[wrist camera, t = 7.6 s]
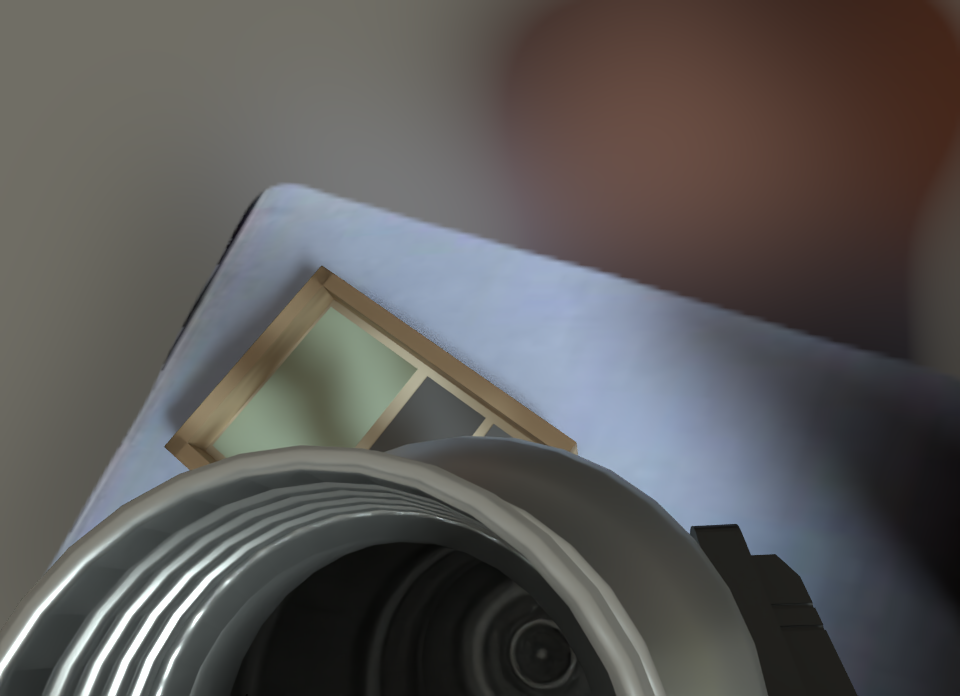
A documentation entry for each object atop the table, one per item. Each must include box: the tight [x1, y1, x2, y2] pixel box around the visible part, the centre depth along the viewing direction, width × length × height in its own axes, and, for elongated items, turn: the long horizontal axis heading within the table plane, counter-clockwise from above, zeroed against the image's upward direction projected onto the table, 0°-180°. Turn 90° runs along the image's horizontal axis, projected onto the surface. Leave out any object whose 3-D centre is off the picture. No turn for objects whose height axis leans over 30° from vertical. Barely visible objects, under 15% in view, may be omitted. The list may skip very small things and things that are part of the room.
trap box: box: [164, 266, 578, 470], centre depth 40 cm, size 14×19×4 cm
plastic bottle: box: [0, 436, 768, 696], centre depth 12 cm, size 6×7×20 cm
